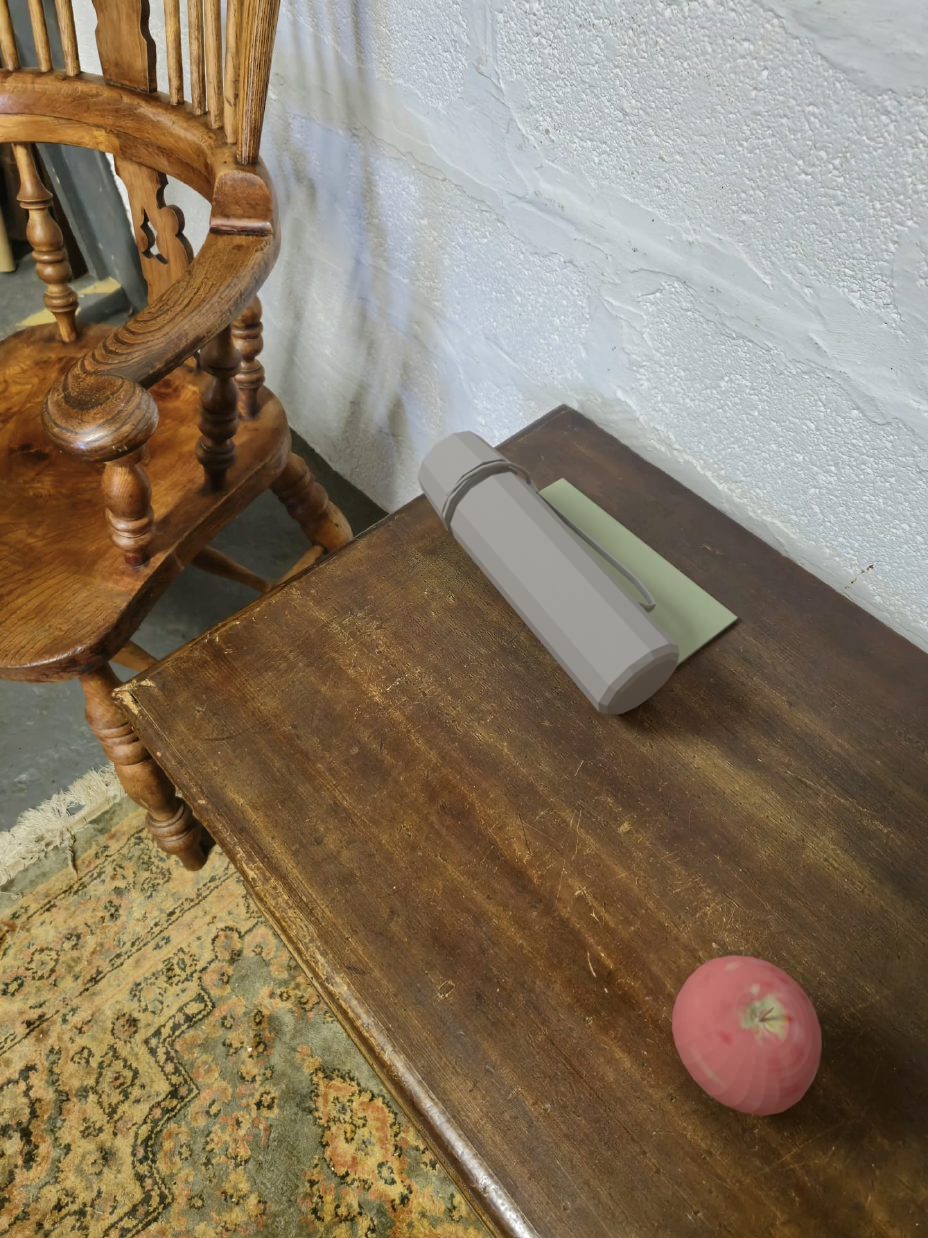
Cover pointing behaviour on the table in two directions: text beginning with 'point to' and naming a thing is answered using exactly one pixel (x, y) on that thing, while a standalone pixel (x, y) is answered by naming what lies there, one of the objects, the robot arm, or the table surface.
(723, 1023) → the apple
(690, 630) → the mat
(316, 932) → the table surface
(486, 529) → the water bottle
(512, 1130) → the table surface
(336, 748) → the table surface
